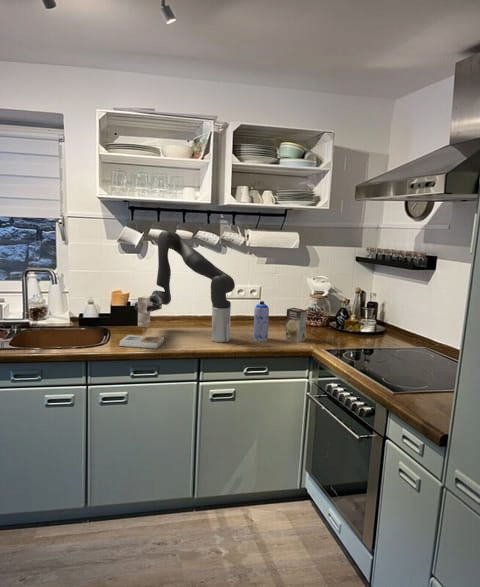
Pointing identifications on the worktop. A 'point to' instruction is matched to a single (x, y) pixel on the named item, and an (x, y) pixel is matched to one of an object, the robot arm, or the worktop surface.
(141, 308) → the peg
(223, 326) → the robot arm
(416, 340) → the worktop surface
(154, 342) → the grey flat block
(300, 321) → the coffee box
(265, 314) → the aerosol can
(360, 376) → the worktop surface
